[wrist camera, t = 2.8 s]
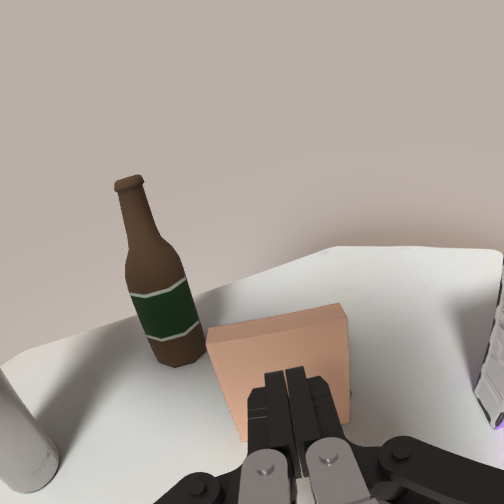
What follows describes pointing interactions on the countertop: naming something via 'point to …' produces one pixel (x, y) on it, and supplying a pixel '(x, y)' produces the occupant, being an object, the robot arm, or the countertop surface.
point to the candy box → (494, 368)
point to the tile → (281, 355)
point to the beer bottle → (158, 282)
